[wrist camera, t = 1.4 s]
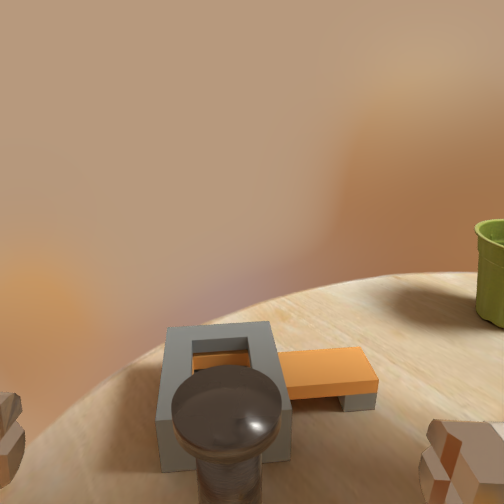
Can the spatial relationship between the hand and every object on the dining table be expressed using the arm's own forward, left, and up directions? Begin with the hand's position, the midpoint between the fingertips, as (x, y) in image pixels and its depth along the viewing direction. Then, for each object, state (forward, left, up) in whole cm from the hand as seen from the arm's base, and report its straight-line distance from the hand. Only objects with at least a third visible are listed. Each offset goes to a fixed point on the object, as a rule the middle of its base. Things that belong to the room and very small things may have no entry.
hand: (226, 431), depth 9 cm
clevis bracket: (-5, -25, -23) cm, 34 cm away
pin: (0, -11, -23) cm, 25 cm away
